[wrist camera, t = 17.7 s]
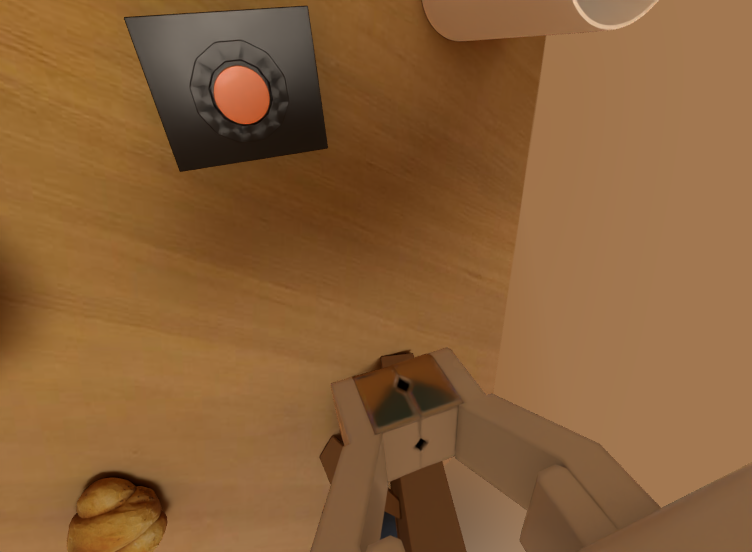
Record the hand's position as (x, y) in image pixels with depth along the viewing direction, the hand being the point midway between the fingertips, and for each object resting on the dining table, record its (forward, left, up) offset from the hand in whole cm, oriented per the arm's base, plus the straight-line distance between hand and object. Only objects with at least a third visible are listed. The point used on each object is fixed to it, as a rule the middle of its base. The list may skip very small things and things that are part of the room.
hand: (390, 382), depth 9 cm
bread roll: (+28, +39, -29) cm, 56 cm away
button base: (+2, -5, -29) cm, 29 cm away
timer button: (+2, -5, -25) cm, 26 cm away
